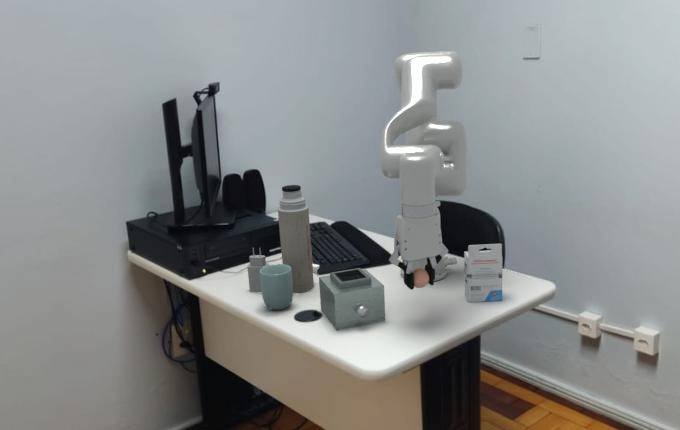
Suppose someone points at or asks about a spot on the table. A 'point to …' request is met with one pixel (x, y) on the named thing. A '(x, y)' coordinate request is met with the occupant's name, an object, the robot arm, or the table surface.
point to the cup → (276, 286)
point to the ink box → (483, 273)
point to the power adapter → (255, 271)
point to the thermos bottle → (296, 238)
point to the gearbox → (352, 298)
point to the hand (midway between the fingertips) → (419, 284)
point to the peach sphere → (420, 277)
